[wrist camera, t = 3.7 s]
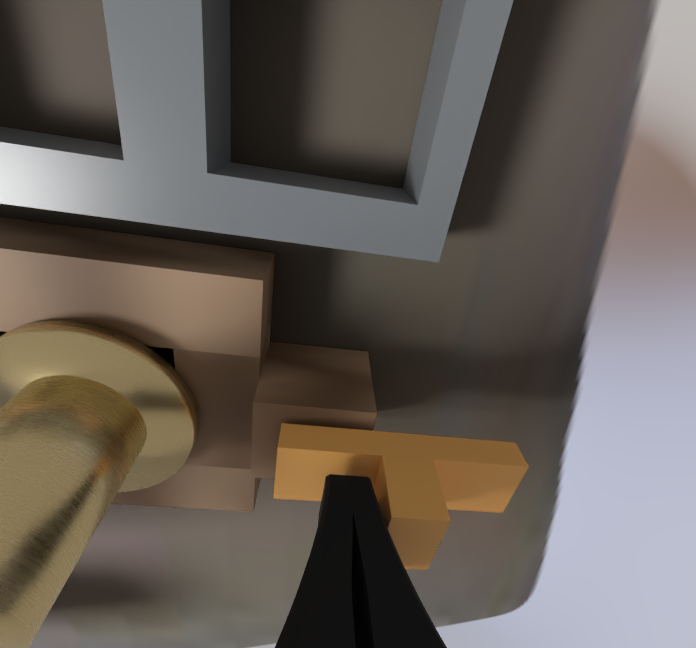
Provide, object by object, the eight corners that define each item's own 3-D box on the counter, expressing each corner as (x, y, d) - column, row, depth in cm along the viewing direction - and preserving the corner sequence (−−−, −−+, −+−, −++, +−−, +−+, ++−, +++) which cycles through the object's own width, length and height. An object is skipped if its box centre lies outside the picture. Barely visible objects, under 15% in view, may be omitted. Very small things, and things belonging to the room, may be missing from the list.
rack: (-52, 170, 11) (-144, 184, 9) (-215, -292, 7) (-453, -469, 5) (420, 237, 13) (438, 262, 11) (508, -111, 9) (566, -185, 7)
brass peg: (60, 419, 16) (-189, 696, 9) (14, 273, 13) (-465, 510, 5) (221, 431, 17) (127, 698, 9) (217, 296, 14) (65, 537, 6)
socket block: (23, 447, 17) (-46, 522, 14) (-72, 207, 12) (-218, 240, 9) (342, 470, 19) (344, 541, 16) (385, 267, 13) (401, 313, 10)
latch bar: (277, 472, 13) (263, 562, 10) (281, 423, 12) (267, 510, 9) (491, 487, 14) (528, 573, 11) (515, 442, 13) (562, 527, 10)
